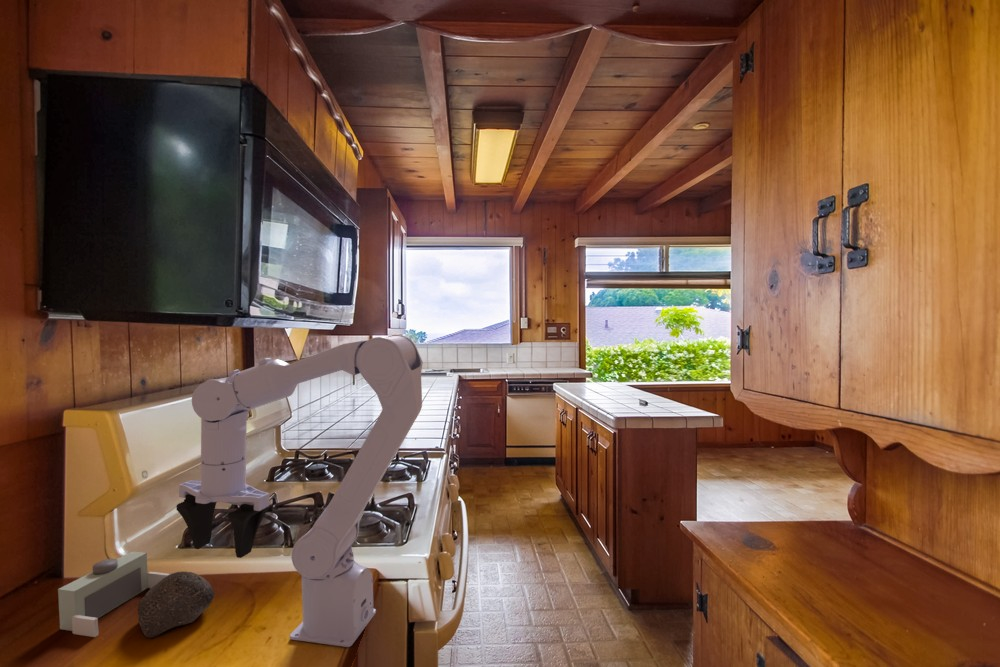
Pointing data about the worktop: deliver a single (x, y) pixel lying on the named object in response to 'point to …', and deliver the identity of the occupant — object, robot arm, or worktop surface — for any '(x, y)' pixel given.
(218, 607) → the worktop surface
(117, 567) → the digital alarm clock
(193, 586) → the stone
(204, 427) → the robot arm
